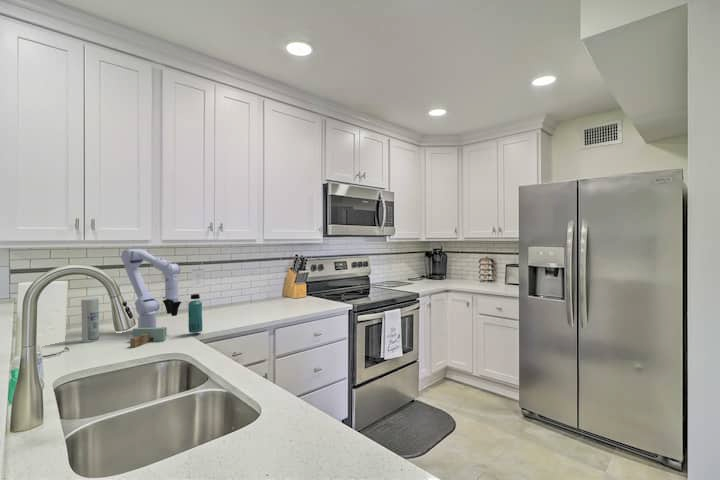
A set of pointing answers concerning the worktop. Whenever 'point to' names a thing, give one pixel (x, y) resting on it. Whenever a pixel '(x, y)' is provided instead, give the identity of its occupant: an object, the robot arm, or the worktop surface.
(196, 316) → the beverage bottle
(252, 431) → the worktop surface
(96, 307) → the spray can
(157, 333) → the slotted plate
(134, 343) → the slotted board
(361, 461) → the worktop surface
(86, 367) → the worktop surface
